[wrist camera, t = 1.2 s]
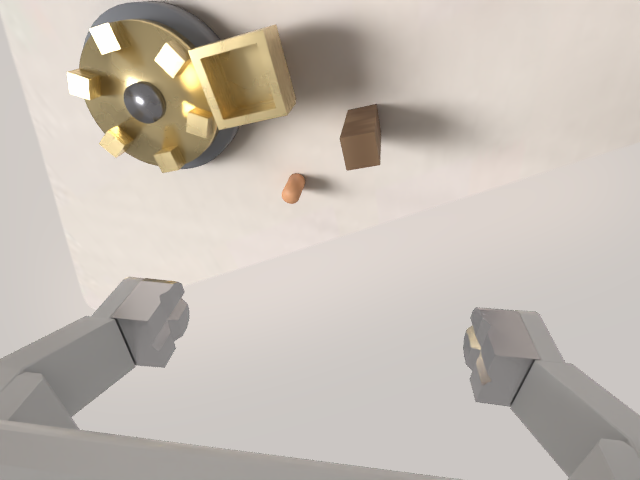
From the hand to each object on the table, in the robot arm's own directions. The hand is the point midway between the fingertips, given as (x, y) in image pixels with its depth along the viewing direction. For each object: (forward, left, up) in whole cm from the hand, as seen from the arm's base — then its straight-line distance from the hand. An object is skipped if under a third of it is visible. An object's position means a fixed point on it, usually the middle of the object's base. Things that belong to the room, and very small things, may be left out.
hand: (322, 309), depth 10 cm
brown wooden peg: (0, +2, -24) cm, 24 cm away
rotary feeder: (+13, -4, -22) cm, 26 cm away
